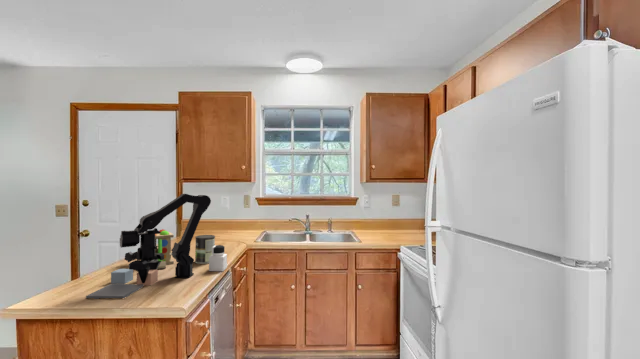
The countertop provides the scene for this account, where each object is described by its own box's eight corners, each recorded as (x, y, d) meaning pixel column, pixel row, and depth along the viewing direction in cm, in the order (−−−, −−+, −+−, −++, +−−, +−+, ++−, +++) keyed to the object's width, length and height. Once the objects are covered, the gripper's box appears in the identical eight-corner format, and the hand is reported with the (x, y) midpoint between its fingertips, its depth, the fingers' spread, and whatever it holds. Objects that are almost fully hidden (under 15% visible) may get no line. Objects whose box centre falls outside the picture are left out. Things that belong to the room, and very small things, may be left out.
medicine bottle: (227, 267, 165) (227, 244, 165) (223, 271, 158) (223, 247, 158) (213, 267, 165) (213, 244, 165) (208, 271, 157) (208, 247, 158)
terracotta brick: (157, 280, 142) (157, 269, 142) (150, 285, 136) (150, 273, 136) (144, 280, 142) (144, 269, 142) (136, 285, 136) (136, 273, 136)
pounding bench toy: (177, 267, 165) (177, 232, 165) (146, 271, 156) (146, 235, 157) (168, 258, 183) (168, 227, 184) (140, 262, 175) (140, 229, 175)
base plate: (143, 286, 134) (143, 284, 134) (123, 298, 120) (123, 296, 120) (109, 286, 134) (109, 284, 134) (85, 298, 120) (85, 296, 120)
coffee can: (194, 264, 170) (195, 238, 170) (195, 260, 180) (195, 235, 180) (215, 263, 174) (215, 237, 174) (214, 258, 184) (214, 234, 184)
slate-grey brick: (133, 279, 144) (133, 268, 144) (124, 284, 138) (125, 272, 138) (119, 279, 144) (119, 268, 144) (111, 284, 138) (111, 272, 138)
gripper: (140, 240, 148) (140, 274, 148) (115, 249, 129) (115, 287, 129) (165, 240, 148) (164, 274, 148) (143, 249, 130) (143, 287, 129)
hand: (147, 280), depth 139 cm, fingers closed on terracotta brick, 6 cm apart
